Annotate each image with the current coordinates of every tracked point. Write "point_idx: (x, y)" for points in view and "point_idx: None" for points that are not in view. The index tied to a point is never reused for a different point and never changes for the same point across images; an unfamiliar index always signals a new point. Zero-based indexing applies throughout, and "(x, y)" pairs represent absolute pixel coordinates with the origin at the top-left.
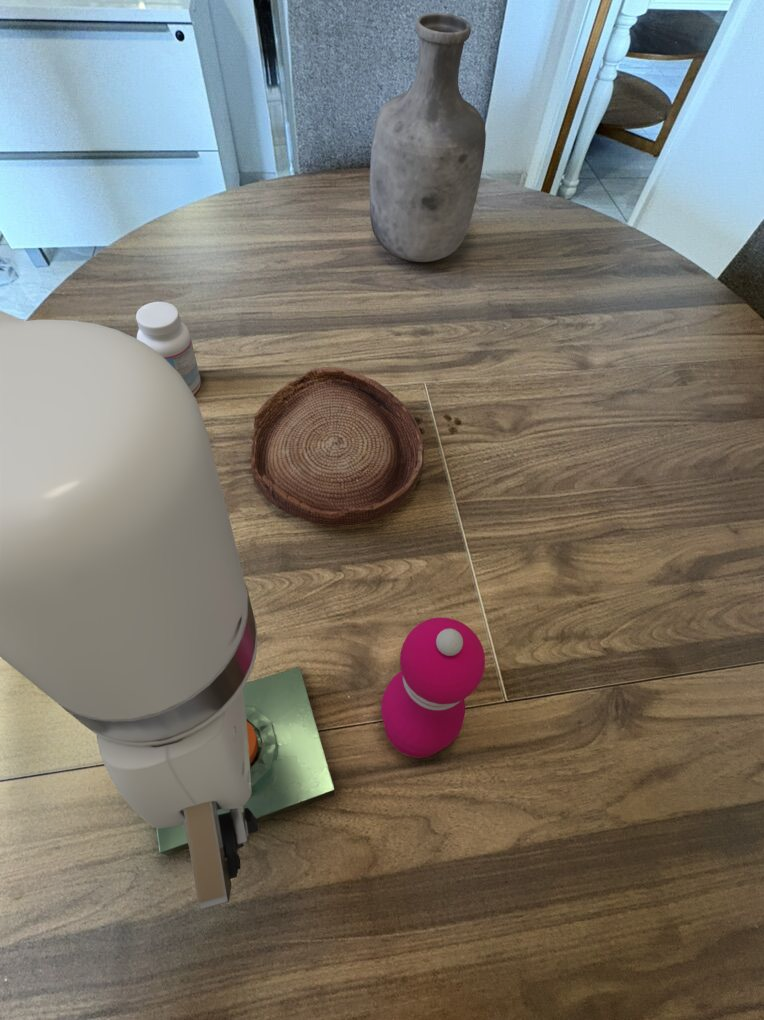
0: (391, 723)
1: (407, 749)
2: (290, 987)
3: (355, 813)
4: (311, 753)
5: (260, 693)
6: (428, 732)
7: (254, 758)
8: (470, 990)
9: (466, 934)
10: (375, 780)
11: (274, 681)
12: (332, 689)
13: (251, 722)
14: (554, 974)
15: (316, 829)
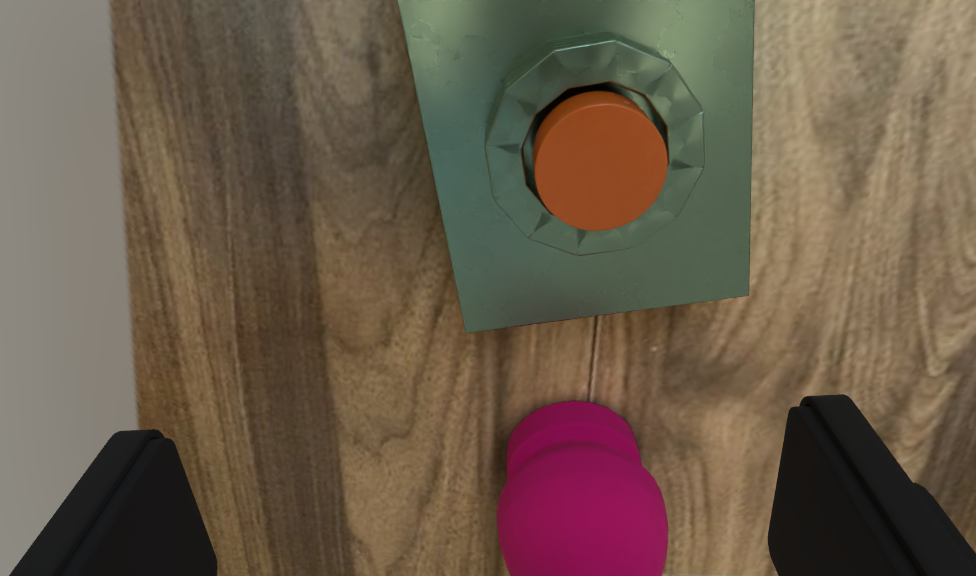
0: (559, 491)
1: (520, 448)
2: (157, 189)
3: (431, 330)
4: (546, 299)
5: (713, 205)
6: (519, 567)
7: None
8: None
9: (235, 454)
10: (483, 370)
11: (732, 240)
12: (678, 321)
13: None
14: None
15: (412, 261)
